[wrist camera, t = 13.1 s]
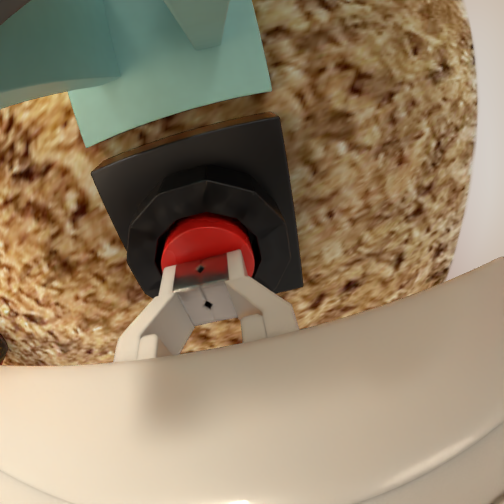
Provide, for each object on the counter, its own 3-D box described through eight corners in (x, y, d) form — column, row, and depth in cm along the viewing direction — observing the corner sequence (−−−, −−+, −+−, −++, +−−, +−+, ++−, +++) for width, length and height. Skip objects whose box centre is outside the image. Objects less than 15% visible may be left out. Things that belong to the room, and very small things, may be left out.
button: (154, 218, 11) (146, 241, 9) (239, 195, 11) (243, 216, 9) (182, 282, 13) (180, 308, 12) (256, 264, 13) (262, 290, 12)
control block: (103, 160, 11) (71, 189, 8) (271, 111, 11) (292, 123, 8) (167, 297, 16) (162, 343, 14) (296, 267, 16) (313, 311, 13)
